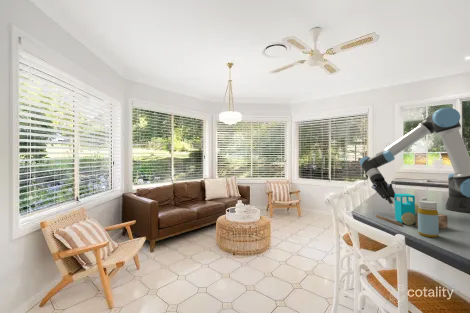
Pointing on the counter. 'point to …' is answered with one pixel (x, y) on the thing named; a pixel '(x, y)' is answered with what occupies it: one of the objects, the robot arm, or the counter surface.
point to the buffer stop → (441, 221)
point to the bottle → (428, 218)
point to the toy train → (406, 209)
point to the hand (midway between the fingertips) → (396, 207)
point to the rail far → (389, 220)
